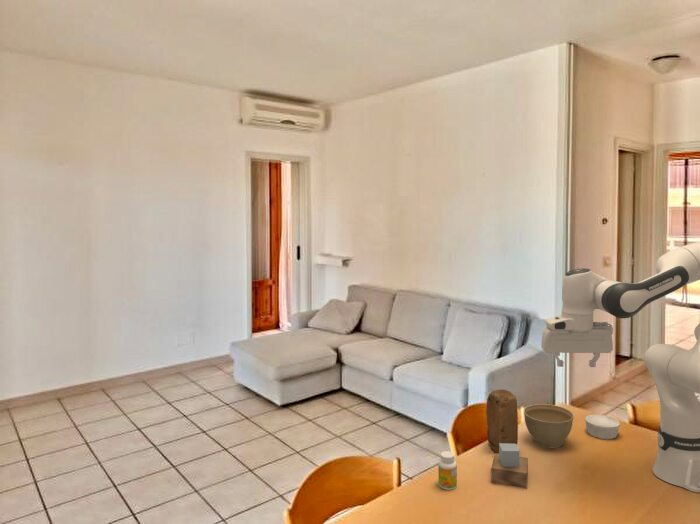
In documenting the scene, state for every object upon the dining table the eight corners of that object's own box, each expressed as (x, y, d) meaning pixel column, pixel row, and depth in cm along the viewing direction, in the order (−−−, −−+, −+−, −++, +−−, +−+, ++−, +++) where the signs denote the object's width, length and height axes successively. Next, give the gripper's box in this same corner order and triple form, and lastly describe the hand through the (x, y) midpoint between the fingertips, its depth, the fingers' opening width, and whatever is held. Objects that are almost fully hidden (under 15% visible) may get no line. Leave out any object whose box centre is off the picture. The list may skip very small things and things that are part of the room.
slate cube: (515, 459, 158) (515, 443, 158) (519, 467, 154) (519, 451, 153) (499, 458, 159) (499, 443, 159) (502, 466, 154) (502, 450, 154)
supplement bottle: (434, 485, 153) (434, 454, 152) (446, 478, 157) (446, 448, 156) (449, 492, 149) (448, 460, 148) (460, 485, 153) (460, 454, 152)
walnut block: (527, 473, 160) (527, 457, 159) (526, 489, 150) (526, 473, 150) (494, 468, 163) (494, 453, 163) (491, 483, 154) (491, 468, 153)
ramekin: (626, 438, 181) (627, 424, 181) (600, 443, 178) (600, 428, 178) (603, 426, 192) (603, 412, 192) (578, 430, 189) (578, 416, 189)
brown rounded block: (519, 454, 171) (520, 396, 169) (499, 457, 169) (499, 398, 168) (502, 440, 182) (502, 385, 180) (483, 443, 180) (483, 388, 178)
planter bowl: (517, 432, 188) (518, 404, 187) (562, 432, 187) (563, 403, 186) (531, 453, 172) (531, 422, 171) (580, 453, 171) (581, 421, 170)
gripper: (608, 319, 158) (607, 363, 159) (540, 319, 160) (539, 363, 162) (617, 324, 152) (615, 369, 153) (545, 324, 154) (544, 369, 155)
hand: (576, 366), depth 157 cm, fingers open, 8 cm apart
